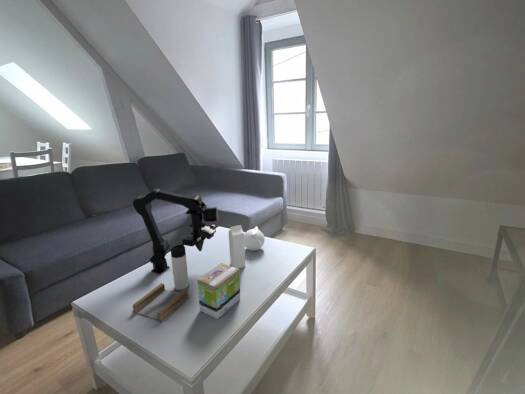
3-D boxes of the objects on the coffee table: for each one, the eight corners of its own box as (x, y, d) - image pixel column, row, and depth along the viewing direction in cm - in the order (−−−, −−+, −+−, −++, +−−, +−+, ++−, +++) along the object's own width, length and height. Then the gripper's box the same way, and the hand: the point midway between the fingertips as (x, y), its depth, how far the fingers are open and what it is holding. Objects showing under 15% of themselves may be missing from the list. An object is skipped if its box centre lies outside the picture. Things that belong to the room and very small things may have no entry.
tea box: (218, 320, 108) (215, 287, 104) (199, 311, 113) (195, 279, 109) (241, 298, 120) (239, 268, 116) (223, 291, 126) (221, 261, 121)
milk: (230, 264, 148) (227, 225, 141) (241, 261, 150) (239, 222, 144) (234, 269, 142) (232, 229, 136) (245, 266, 145) (243, 226, 138)
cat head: (244, 243, 171) (244, 224, 167) (266, 243, 169) (265, 225, 165) (239, 255, 157) (238, 234, 153) (262, 256, 155) (262, 235, 151)
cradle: (132, 311, 114) (131, 304, 113) (160, 289, 128) (159, 282, 127) (163, 322, 108) (162, 314, 107) (189, 297, 122) (188, 290, 121)
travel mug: (192, 284, 131) (188, 245, 125) (183, 292, 125) (179, 251, 119) (180, 281, 133) (176, 243, 127) (171, 289, 127) (167, 249, 121)
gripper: (199, 231, 125) (203, 262, 129) (221, 216, 141) (223, 245, 146) (179, 228, 129) (183, 258, 133) (202, 214, 145) (205, 242, 150)
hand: (200, 250), depth 140 cm, fingers closed
